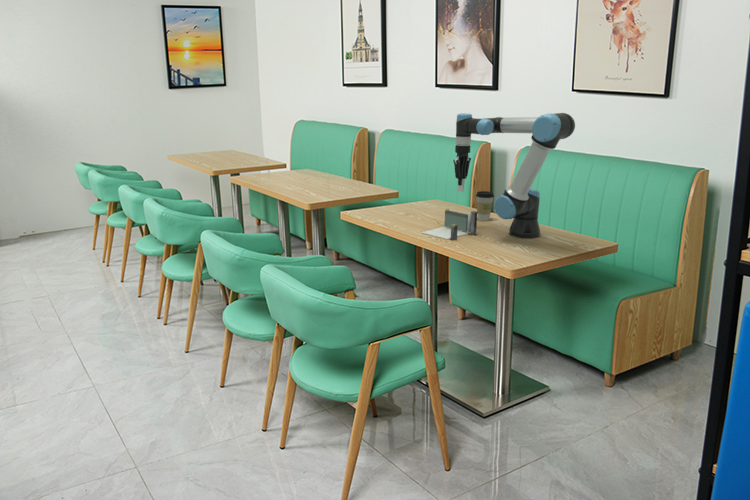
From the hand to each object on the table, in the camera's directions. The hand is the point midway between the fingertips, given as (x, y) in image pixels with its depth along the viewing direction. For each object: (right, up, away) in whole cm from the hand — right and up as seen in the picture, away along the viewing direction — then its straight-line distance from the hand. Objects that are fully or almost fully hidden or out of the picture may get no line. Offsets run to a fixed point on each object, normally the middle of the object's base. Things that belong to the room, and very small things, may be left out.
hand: (460, 191), depth 318 cm
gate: (-2, -19, -2) cm, 20 cm away
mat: (-9, -22, -6) cm, 24 cm away
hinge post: (+5, -22, -8) cm, 24 cm away
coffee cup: (+16, -13, +24) cm, 32 cm away
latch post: (-6, -25, -17) cm, 31 cm away
